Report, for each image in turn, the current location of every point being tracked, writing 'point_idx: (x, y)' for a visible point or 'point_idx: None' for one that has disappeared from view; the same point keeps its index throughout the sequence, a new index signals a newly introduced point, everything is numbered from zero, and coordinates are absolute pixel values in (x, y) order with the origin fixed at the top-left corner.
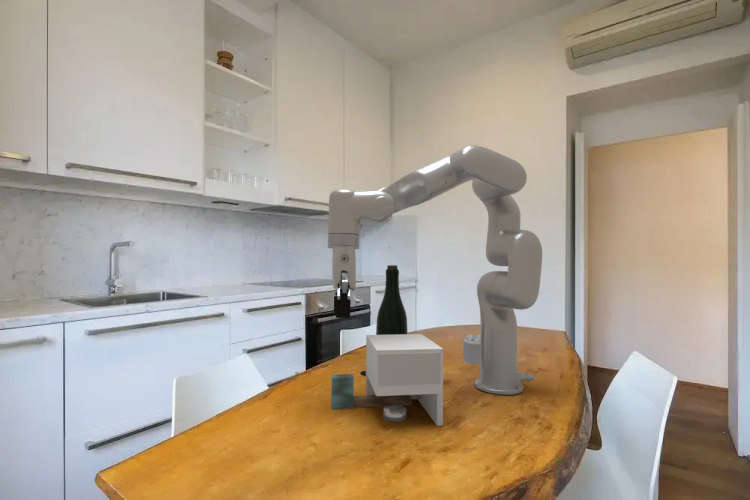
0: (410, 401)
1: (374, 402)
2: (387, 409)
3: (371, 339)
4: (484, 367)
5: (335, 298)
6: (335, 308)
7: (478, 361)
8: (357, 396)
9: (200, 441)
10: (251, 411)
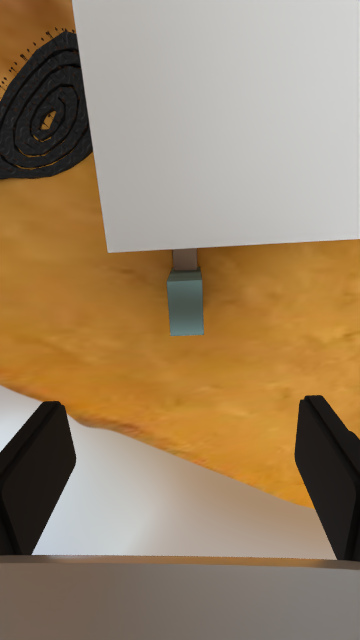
0: None
1: None
2: None
3: (219, 236)
4: None
5: (32, 546)
6: (67, 475)
7: None
8: (175, 259)
9: (299, 473)
10: (199, 435)
